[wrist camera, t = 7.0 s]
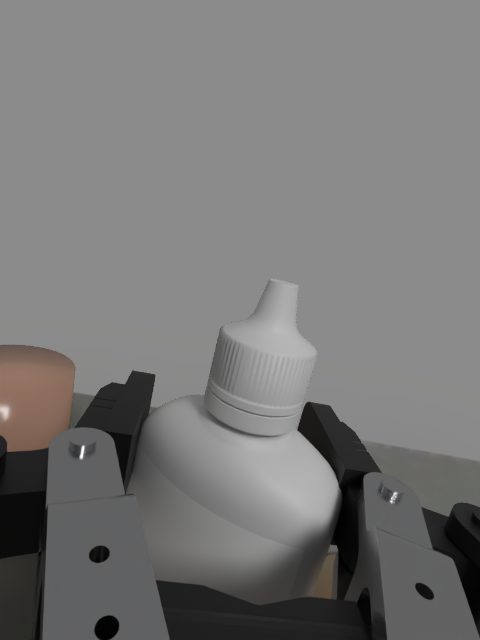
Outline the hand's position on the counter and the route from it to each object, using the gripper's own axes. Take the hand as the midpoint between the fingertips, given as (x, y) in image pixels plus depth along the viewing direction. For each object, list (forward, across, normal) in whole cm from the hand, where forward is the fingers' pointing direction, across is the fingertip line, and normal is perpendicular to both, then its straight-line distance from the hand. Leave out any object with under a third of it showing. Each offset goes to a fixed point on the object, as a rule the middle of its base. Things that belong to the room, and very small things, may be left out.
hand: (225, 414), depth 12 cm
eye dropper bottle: (-3, 0, +7) cm, 8 cm away
